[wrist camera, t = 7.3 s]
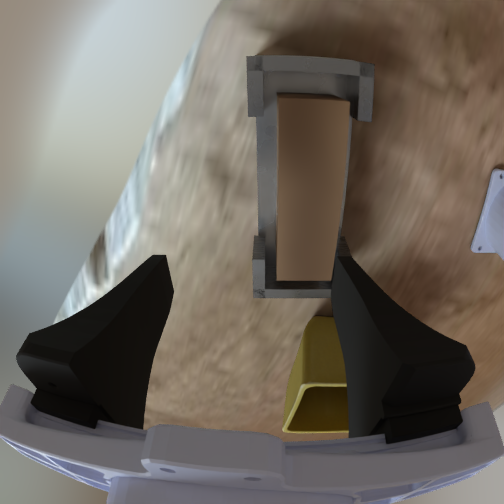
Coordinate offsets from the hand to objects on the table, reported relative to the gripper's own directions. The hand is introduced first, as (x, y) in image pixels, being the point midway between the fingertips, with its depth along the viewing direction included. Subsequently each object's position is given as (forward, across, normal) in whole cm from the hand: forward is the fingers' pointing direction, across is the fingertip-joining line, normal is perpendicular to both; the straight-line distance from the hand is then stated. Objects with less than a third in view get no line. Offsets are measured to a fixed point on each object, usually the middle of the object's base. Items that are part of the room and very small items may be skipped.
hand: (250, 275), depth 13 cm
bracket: (+10, -3, -1) cm, 10 cm away
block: (+9, -3, -1) cm, 10 cm away
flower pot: (+10, -7, +15) cm, 19 cm away
